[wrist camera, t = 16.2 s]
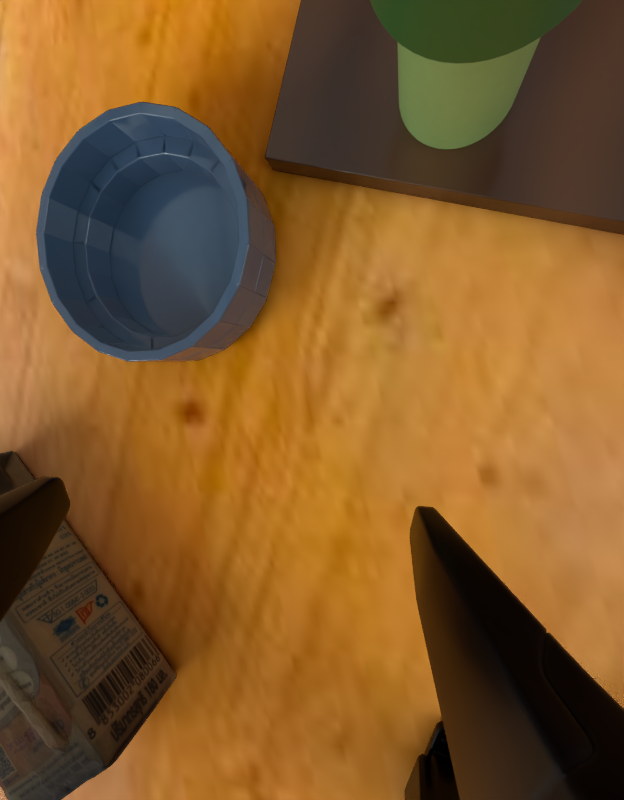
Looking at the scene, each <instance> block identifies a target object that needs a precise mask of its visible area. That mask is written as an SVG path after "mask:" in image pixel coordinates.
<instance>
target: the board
mask: <svg viewBox="0 0 624 800" xmlns="http://www.w3.org/2000/svg"><path fill="white" fill-rule="evenodd" d="M265 159H266V160H267V162H268V163H269V165H270V166H271V167H272V169H273V170H278V171H283V172H289V173H294V174H299V175H305V176H310V177H316V178H321V179H327V180H332V181H337V182H343V183H348V184H354V185H359V186H364V187H370V188H375V189H381V190H386V191H392V192H397V193H402V194H408V195H413V196H419V197H424V198H429V199H435V200H440V201H446V202H451V203H457V204H462V205H467V206H473V207H478V208H484V209H489V210H494V211H500V212H505V213H511V214H516V215H522V216H527V217H532V218H538V219H543V220H549V221H554V222H559V223H565V224H570V225H576V226H581V227H587V228H592V229H597V230H603V231H608V232H614V233H619V234H624V0H583V1H582V2H581V3H580V4H579V5H578V6H577V7H576V8H575V10H574V11H572V12H571V13H570V14H569V15H568V16H567V17H566V18H565V19H564V20H562V21H561V22H560V23H559V24H558V25H557V26H555V27H554V28H553V29H551V30H550V31H548V32H547V33H546V34H544V35H543V36H542V37H541V38H540V40H539V43H538V45H537V47H536V50H535V52H534V55H533V57H532V59H531V62H530V64H529V67H528V69H527V71H526V74H525V76H524V78H523V81H522V83H521V86H520V88H519V90H518V93H517V95H516V98H515V100H514V102H513V104H512V107H511V108H510V110H509V112H508V113H507V115H506V116H505V118H504V119H503V120H502V122H501V123H500V124H499V125H498V126H497V127H496V128H495V129H494V130H493V131H492V132H491V133H489V134H488V135H487V136H485V137H484V138H482V139H481V140H479V141H477V142H475V143H473V144H471V145H468V146H465V147H461V148H457V149H437V148H433V147H430V146H427V145H425V144H423V143H421V142H420V141H418V140H417V139H416V138H415V137H414V136H413V135H412V134H411V133H410V132H409V131H408V129H407V128H406V126H405V124H404V122H403V120H402V117H401V113H400V109H399V88H398V44H397V41H396V40H395V39H394V38H393V37H392V36H391V35H390V34H389V33H388V32H387V30H386V29H385V28H384V27H383V25H382V24H381V22H380V21H379V19H378V17H377V15H376V14H375V12H374V10H373V7H372V5H371V2H370V0H301V3H300V7H299V12H298V16H297V20H296V25H295V29H294V33H293V37H292V42H291V46H290V50H289V55H288V59H287V63H286V68H285V72H284V76H283V81H282V85H281V89H280V94H279V98H278V102H277V107H276V111H275V115H274V120H273V124H272V128H271V133H270V137H269V141H268V146H267V150H266V154H265Z"/></svg>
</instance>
